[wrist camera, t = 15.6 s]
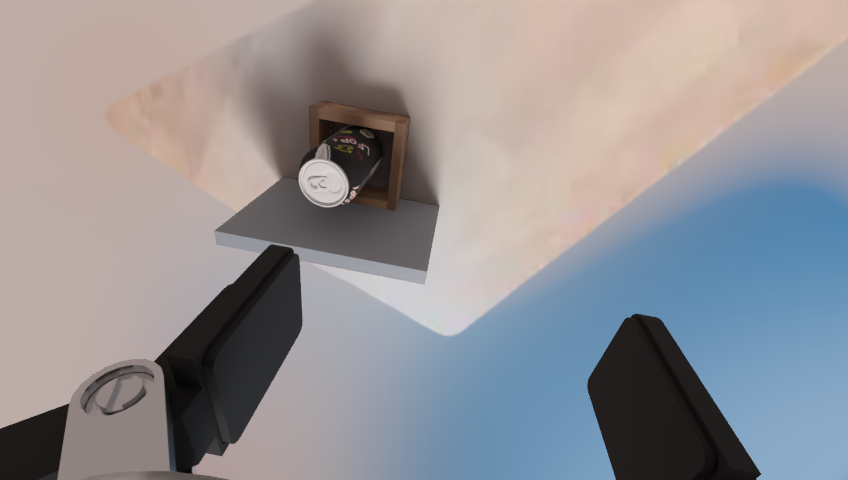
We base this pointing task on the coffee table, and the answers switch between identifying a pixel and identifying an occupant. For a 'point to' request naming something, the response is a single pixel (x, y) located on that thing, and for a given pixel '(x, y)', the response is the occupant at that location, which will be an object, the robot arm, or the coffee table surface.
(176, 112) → the coffee table surface
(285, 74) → the coffee table surface
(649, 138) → the coffee table surface
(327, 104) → the brown wooden open box
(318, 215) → the wall board
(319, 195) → the beverage can
